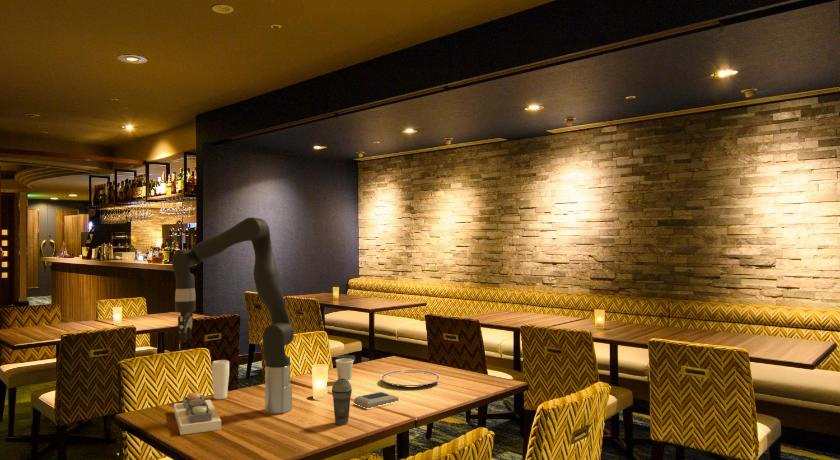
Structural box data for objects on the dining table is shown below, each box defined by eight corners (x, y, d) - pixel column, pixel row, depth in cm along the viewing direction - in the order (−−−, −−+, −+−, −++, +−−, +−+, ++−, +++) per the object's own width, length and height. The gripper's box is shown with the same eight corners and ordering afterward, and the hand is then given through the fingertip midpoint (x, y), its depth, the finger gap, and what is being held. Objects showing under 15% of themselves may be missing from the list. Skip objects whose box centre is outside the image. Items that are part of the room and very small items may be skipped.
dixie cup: (346, 379, 276) (346, 357, 276) (357, 382, 270) (357, 360, 270) (331, 381, 271) (331, 360, 271) (342, 385, 264) (342, 362, 265)
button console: (174, 411, 222) (174, 397, 223) (210, 407, 228) (210, 393, 228) (180, 435, 196) (180, 418, 196) (221, 429, 201) (221, 413, 201)
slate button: (189, 406, 213) (189, 399, 213) (202, 405, 215) (202, 398, 215) (190, 410, 209) (190, 403, 209) (204, 408, 211) (204, 401, 211)
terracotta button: (186, 400, 222) (186, 393, 222) (199, 398, 224) (199, 392, 224) (187, 403, 218) (187, 396, 218) (201, 401, 220) (201, 394, 220)
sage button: (191, 414, 204) (192, 406, 204) (205, 412, 206) (205, 405, 206) (193, 417, 200) (193, 410, 200) (207, 415, 202) (207, 408, 202)
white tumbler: (223, 400, 238) (223, 363, 238) (208, 399, 239) (208, 362, 240) (232, 396, 245) (232, 360, 245) (217, 395, 246) (217, 359, 246)
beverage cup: (343, 427, 204) (343, 369, 204) (327, 423, 208) (327, 367, 208) (356, 422, 210) (356, 365, 211) (340, 418, 214) (340, 363, 214)
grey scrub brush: (398, 394, 235) (367, 401, 226) (398, 404, 235) (367, 410, 226) (384, 390, 243) (353, 396, 233) (384, 399, 242) (353, 405, 233)
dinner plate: (441, 391, 255) (441, 383, 256) (378, 390, 256) (378, 382, 256) (439, 376, 283) (439, 369, 283) (383, 376, 283) (383, 369, 283)
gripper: (191, 301, 227) (191, 343, 227) (199, 298, 241) (199, 337, 241) (170, 301, 226) (170, 344, 226) (179, 298, 240) (180, 338, 240)
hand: (185, 340), depth 233 cm, fingers open, 8 cm apart
